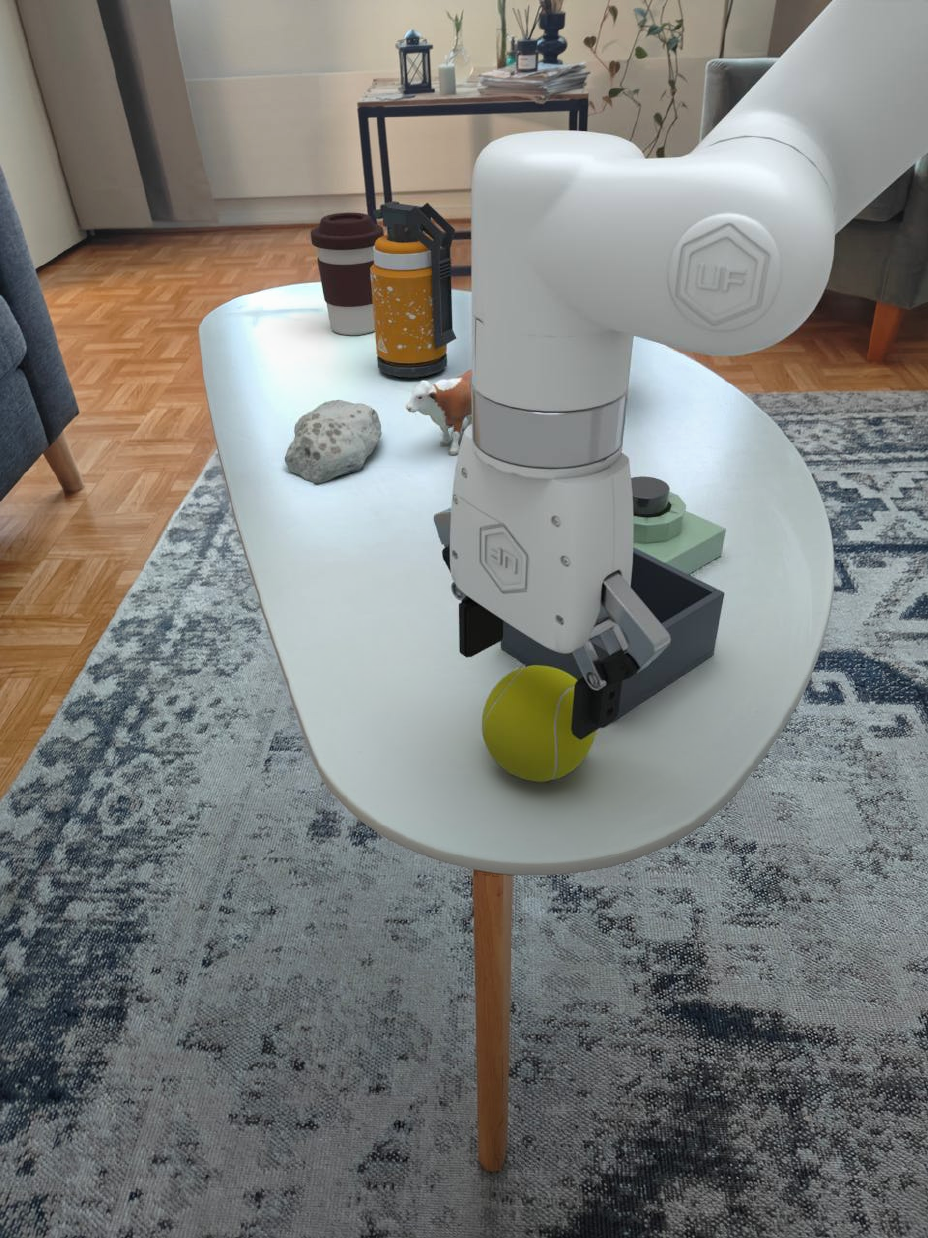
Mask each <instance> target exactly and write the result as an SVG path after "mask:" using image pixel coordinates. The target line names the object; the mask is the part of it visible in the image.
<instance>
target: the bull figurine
mask: <svg viewBox="0 0 928 1238" xmlns="http://www.w3.org/2000/svg"><path fill="white" fill-rule="evenodd" d="M471 375H472V368H470V369H468V370H466V371H465V372H464V373H462V374H461V375H459V376H456V377H454V378H453V377H452V378H448V379H440V380H437V381H436V382H435V383H433V384H431V383H430V381H428V380H421V381H420V382H419V383H418V384H417V385H416V386H414V388H413V390H412V394H411V396H410V398H409V401H408V402H406V404H405V409H406V410H407V412H409V413H417V412H418V413H420V414H421V415H424V416H429V417H430V419H431V420H432V422H433V423H435V425H436V426H439V428H440V431H442V433H443V434H442V438H441V440H440V442H439V445H440V446H448V445H449V443H450V441H451V440H452V442H451V445H450V449H449V450H448V454H449V455H451V456H458V453H459V448H460V445H459V439H460V437H461V435H462V434H461V433H462V431H463V432H464V431H465V429H466V428H467V427H468V426H469V425H471V424H472V389H471V387H470V382H469V381H470V377H471ZM465 418H466V421H465V422H464V420H465ZM451 428H453V429H452V433H451V435H450V432H449V429H451ZM451 436H452V437H451Z"/></svg>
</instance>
